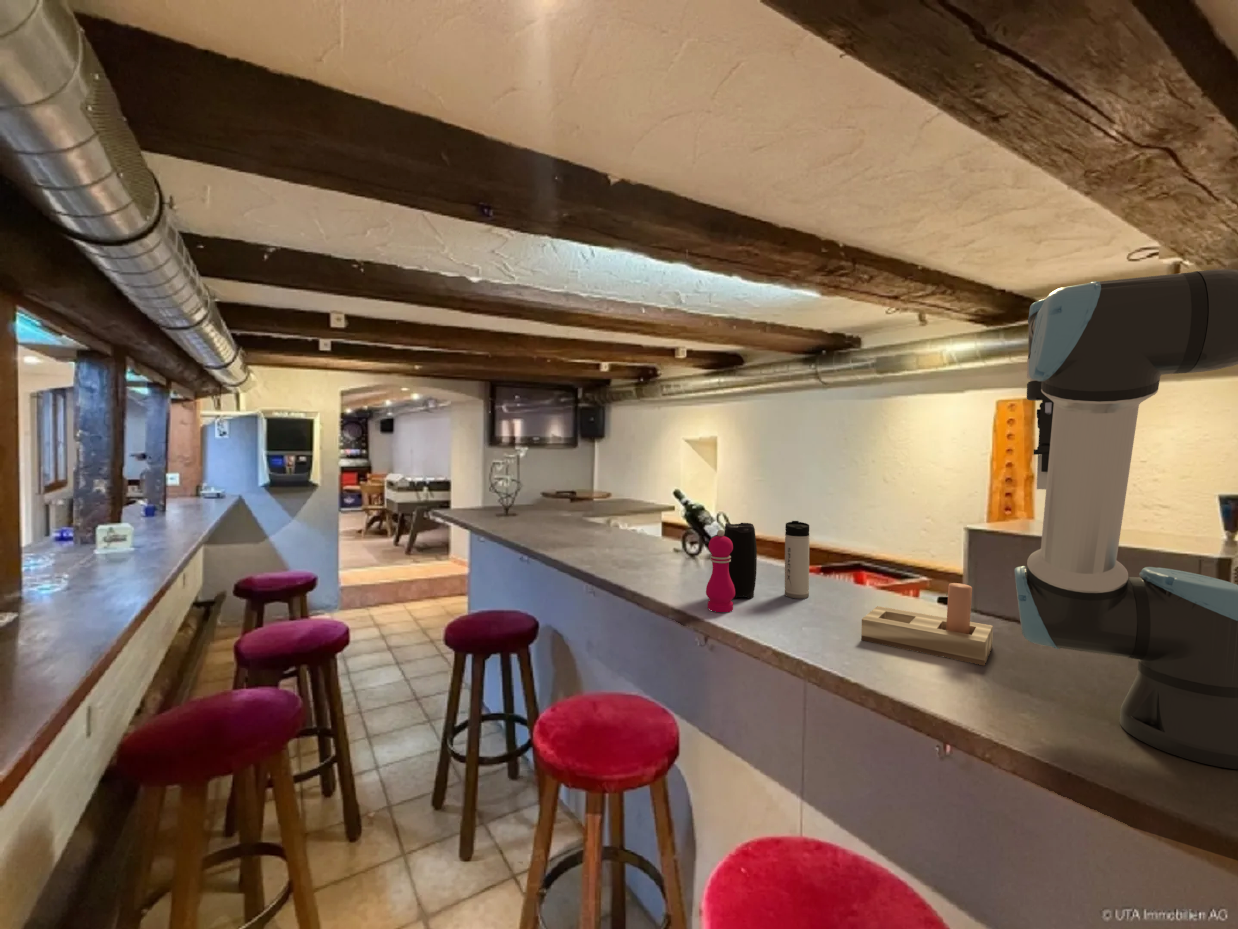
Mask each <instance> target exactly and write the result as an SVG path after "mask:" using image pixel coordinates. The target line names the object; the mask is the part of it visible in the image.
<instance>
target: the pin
mask: <svg viewBox="0 0 1238 929" xmlns="http://www.w3.org/2000/svg"><path fill="white" fill-rule="evenodd" d="M947 589H948V593H947V605H946V606H947V607H946V608H947V609H946V610H947V611H946V618H947V624H946V630H948V631H953V632H959V633H964V634H969V631H970V622H971V612H972V594H973V586H971V585H969V584H964V583H959V582H958V583H957V582H953V583H951V582H950V583H949V584H948V588H947Z"/></svg>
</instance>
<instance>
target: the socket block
mask: <svg viewBox="0 0 1238 929" xmlns="http://www.w3.org/2000/svg"><path fill="white" fill-rule="evenodd" d="M946 624H947V617H943V616H938V615H933V614H926V613H920V612H916V611H915V612H914V611H908V610H903V609H898V608H897V609H896V608H891V607H887V606H878V605H877V606H876V607H875V608H873V609H872V610H871V611H869V613H866V614H865V616H863V617H862V618H861V635H860V636H861V641H863V642H864V641H865V642H869V643H874V644H877V645H882V644H883V646H887V645H888V646H889V647H893V648H897V649H903V650H907V651H911V650H913V652H916V651H918V652H917V653H921V652H923V653H922V654H925V653H927V654H926V655H930V654H931V655H932V656H936V657H940V656H944V657H943V658H945V657H948V658H947V659H949V658H952V659H951V660H954V659H956V661H959V660H960V661H961V662H964V663H969V662H971V663H970V664H973V663H975V665H978V664H979V666H985V665H986V664H985V663H987V661H988V659H989V657H988V656H990V654H991V652H992V649H993V636H994V635H993V634H994V633H993V631H994V630H993V629H994V628H993V627H994V626H993V625H991V624H985V623H978V622H973V621H970V631H969V634H964V633H959V632H953V631H948V630H946ZM888 646H887V647H888ZM990 651H991V652H990ZM960 661H959V662H960Z"/></svg>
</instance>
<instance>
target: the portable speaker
mask: <svg viewBox="0 0 1238 929" xmlns="http://www.w3.org/2000/svg"><path fill="white" fill-rule="evenodd" d="M755 528H756V527H755V525H754V524H753V523H751V522H740V523H730V522H728V523H727V522H726V523H725V525H724V536H725V537H728V538H729V539H730V540H731V541H732V544H733V550H732V552H731V553H730V556H731V558H730V560H731V562H729V575H730V578H731V580H732V582H733V584H734V588H735V596H734V598H733V599H732V600H736V599H737V597H746V599H748V600H749V599H750V600H751V599H753V598H754V597H755V589H756V582H757V581H756V580H757V567H758V566H757V565H758V564H757V562H758V561H757V560H758V548H757V547H758V546H757V536H756V529H755Z"/></svg>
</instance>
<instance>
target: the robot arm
mask: <svg viewBox="0 0 1238 929" xmlns="http://www.w3.org/2000/svg"><path fill="white" fill-rule="evenodd" d="M1027 324H1028V335H1027V336H1028V338H1027V339H1028V346H1027V347H1028V350H1027V351H1028V355H1027V360H1026V361H1027V362H1026V379H1028V380H1030V381H1028V382H1027V383H1026V399H1027V400H1028V401H1033V402H1034V401H1037V402H1038V401H1039V402H1040V401H1041V402H1040V403H1039V409H1038V408H1037V409H1036V418H1037V422H1036V423H1037V428H1038V443H1037V444H1038V446H1037V448H1036V449H1033V456H1035V455H1037V464H1036V465H1037V466H1036V467H1037V469H1036V470H1037V471H1036V472H1037V473H1036V490H1044V491H1045V498H1044V500H1045V501H1044V508H1043V509H1044V510H1043V511H1044V512H1043V519H1042V520H1043V522H1042V531H1041V532H1042V533H1041V541H1040V542H1041V543H1040V549H1039V548H1038V549H1037V550H1035V551H1033V552H1032V553H1031V554H1030V555H1029V556H1028V558H1027V559H1026V560H1027V561H1026V562H1027V563H1026V566H1025V565H1022V566H1017V567H1015V568H1014V580H1015V588H1016V596H1017V606H1018V612H1019V621H1020V627H1021V634H1022V635H1023V637H1024V639H1026V640H1027V641H1028V642H1030V643H1033V644H1035V645H1039V646H1046V647H1049V648H1050V647H1051V648H1054V649H1056V650H1060V649H1063V650H1070V651H1071V650H1072V651H1079V652H1085V653H1090V654H1091V653H1093V654H1099V655H1105V656H1112V657H1118V658H1119V657H1120V658H1127V659H1134V660H1138V661H1137V674H1136V676H1135V678H1134V680H1133V682H1132V684H1131V686H1130V688H1129V690H1128V692H1127V693H1126V696H1125V697H1124V699H1123V701H1122V703H1121V705H1120V710H1119V711H1120V712H1119V724H1120V726H1121V727H1122V729H1123V730H1124V731H1125V732H1126V733H1128V734H1129V735H1131V736H1132V737H1134V738H1135V739H1137V740H1139V741H1141V742H1142V743H1145V744H1147V745H1149V746H1151V747H1152V748H1155V749H1157V750H1160V751H1163V752H1165V753H1167V754H1170V755H1174V756H1176V757H1178V758H1181V759H1186V760H1189V761H1193V762H1197V763H1200V764H1205V765H1209V766H1212V767H1213V766H1214V767H1219V768H1225V769H1232V770H1238V584H1236V583H1233V582H1230V581H1227V580H1224V579H1221V578H1220V579H1219V578H1217V577H1212V576H1207V575H1203V574H1198V573H1194V572H1190V571H1185V570H1184V571H1183V570H1179V569H1172V568H1168V567H1167V568H1165V567H1154V566H1145V567H1144V568H1142V569H1141V571H1140V572H1139V574H1138V575H1139V576H1138V577H1136V576H1129V572H1128V570H1127V568H1126V567H1125V565H1123V564H1122V563H1121V562H1120V561H1118V560H1117V559H1118V553H1119V552H1118V551H1119V545H1120V538H1121V530H1122V524H1123V517H1124V509H1125V503H1126V497H1127V490H1128V483H1129V477H1130V476H1129V475H1130V469H1131V462H1132V455H1133V448H1134V443H1135V442H1134V441H1135V435H1136V429H1137V428H1136V427H1137V419H1138V414H1139V408H1140V405H1141V404H1142V403H1143V402H1144V401H1146V400H1148V399H1149V398H1151V397H1153V396H1155V395H1156V394H1157V393H1158V392H1159V388H1160V387H1159V386H1160V380H1161V376H1163V375H1172V374H1174V375H1175V374H1178V375H1179V374H1191V373H1203V372H1209V371H1219V370H1222V369H1226V368H1230V367H1233V366H1237V365H1238V269H1229V268H1228V269H1226V268H1225V269H1224V268H1223V269H1220V268H1219V269H1218V268H1217V269H1214V268H1213V269H1205V270H1195V271H1191V272H1182V273H1181V272H1180V273H1170V274H1162V275H1161V274H1160V275H1153V276H1152V275H1151V276H1139V277H1131V278H1129V277H1128V278H1120V279H1110V280H1099V281H1097V280H1094V281H1090V282H1088V283H1082V284H1081V283H1080V284H1075V285H1070V286H1064V287H1059V288H1057V289H1055V290H1053V291H1052V292H1050V293H1049V294H1048V295H1047V297H1045V298H1044V299H1040V300H1037V301H1035V302H1033V303H1031V305H1030V306H1029V313H1028V318H1027Z"/></svg>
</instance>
